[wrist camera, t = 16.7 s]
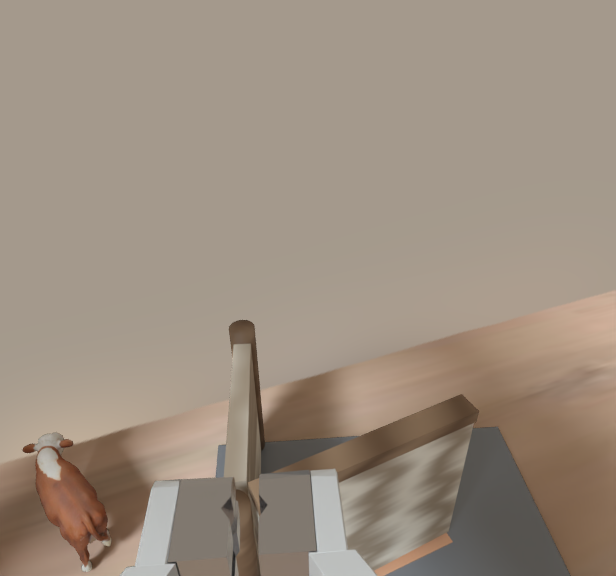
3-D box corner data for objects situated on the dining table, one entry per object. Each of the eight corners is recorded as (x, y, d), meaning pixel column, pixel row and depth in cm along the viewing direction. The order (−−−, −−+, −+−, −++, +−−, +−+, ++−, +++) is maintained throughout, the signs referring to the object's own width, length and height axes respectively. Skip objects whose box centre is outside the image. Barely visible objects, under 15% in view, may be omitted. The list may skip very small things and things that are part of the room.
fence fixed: (236, 647, 42) (211, 523, 32) (244, 439, 59) (229, 320, 50) (265, 645, 42) (249, 521, 32) (265, 438, 59) (254, 319, 50)
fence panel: (272, 627, 42) (258, 506, 33) (262, 603, 43) (247, 482, 35) (450, 533, 48) (479, 411, 40) (436, 515, 50) (461, 394, 41)
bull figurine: (80, 466, 57) (60, 413, 52) (127, 562, 48) (107, 508, 43) (38, 487, 54) (13, 435, 50) (79, 592, 45) (53, 539, 41)
